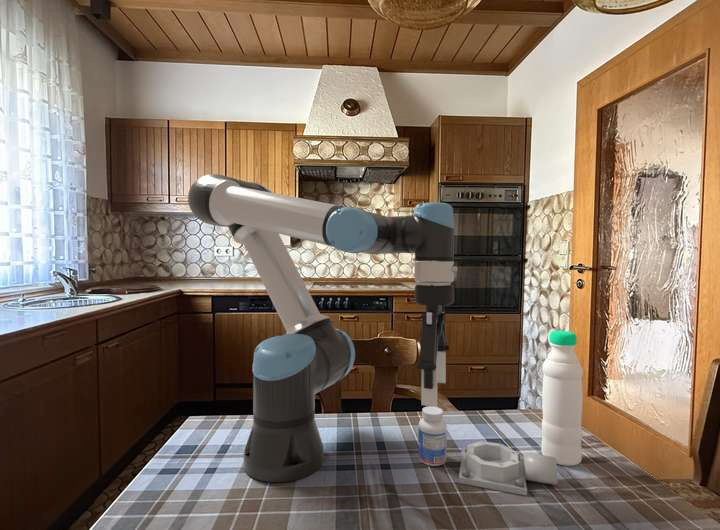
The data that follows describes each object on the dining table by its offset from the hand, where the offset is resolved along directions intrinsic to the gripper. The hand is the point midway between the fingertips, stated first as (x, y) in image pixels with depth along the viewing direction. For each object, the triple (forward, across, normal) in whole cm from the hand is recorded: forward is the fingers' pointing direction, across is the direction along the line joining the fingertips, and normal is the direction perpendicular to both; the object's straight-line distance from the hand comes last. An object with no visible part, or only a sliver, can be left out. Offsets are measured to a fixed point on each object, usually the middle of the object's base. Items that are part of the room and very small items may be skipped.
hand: (434, 392), depth 75 cm
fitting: (+13, -1, -13) cm, 19 cm away
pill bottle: (+13, 0, 0) cm, 13 cm away
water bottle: (+14, +9, -24) cm, 29 cm away
